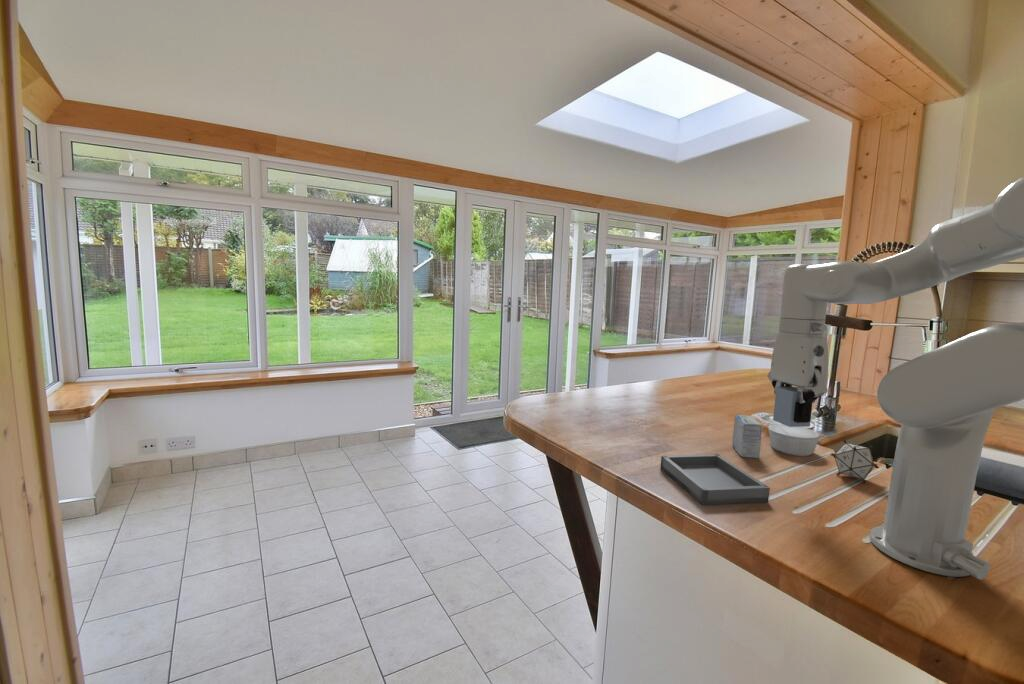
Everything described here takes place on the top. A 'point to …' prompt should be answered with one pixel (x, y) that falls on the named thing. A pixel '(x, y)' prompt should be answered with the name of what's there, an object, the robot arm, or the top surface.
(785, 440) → the ramekin
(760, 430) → the medicine box
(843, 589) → the top surface
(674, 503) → the top surface
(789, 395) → the slate block
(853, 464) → the game die
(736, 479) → the tray
